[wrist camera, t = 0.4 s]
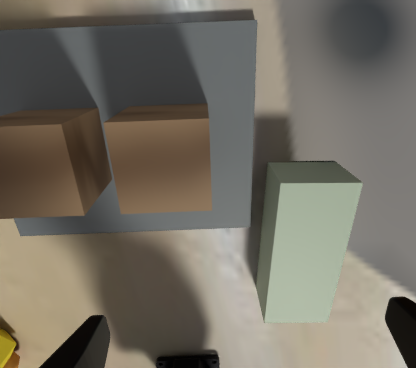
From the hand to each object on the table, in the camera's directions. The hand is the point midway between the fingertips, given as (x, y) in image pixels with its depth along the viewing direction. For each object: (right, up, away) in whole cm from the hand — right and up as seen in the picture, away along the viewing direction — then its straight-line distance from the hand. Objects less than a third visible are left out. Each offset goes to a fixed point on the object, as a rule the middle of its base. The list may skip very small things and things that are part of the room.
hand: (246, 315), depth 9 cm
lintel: (+6, 0, +14) cm, 15 cm away
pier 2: (-4, +7, +10) cm, 13 cm away
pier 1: (-11, +7, +10) cm, 16 cm away
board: (-7, +7, +10) cm, 15 cm away
